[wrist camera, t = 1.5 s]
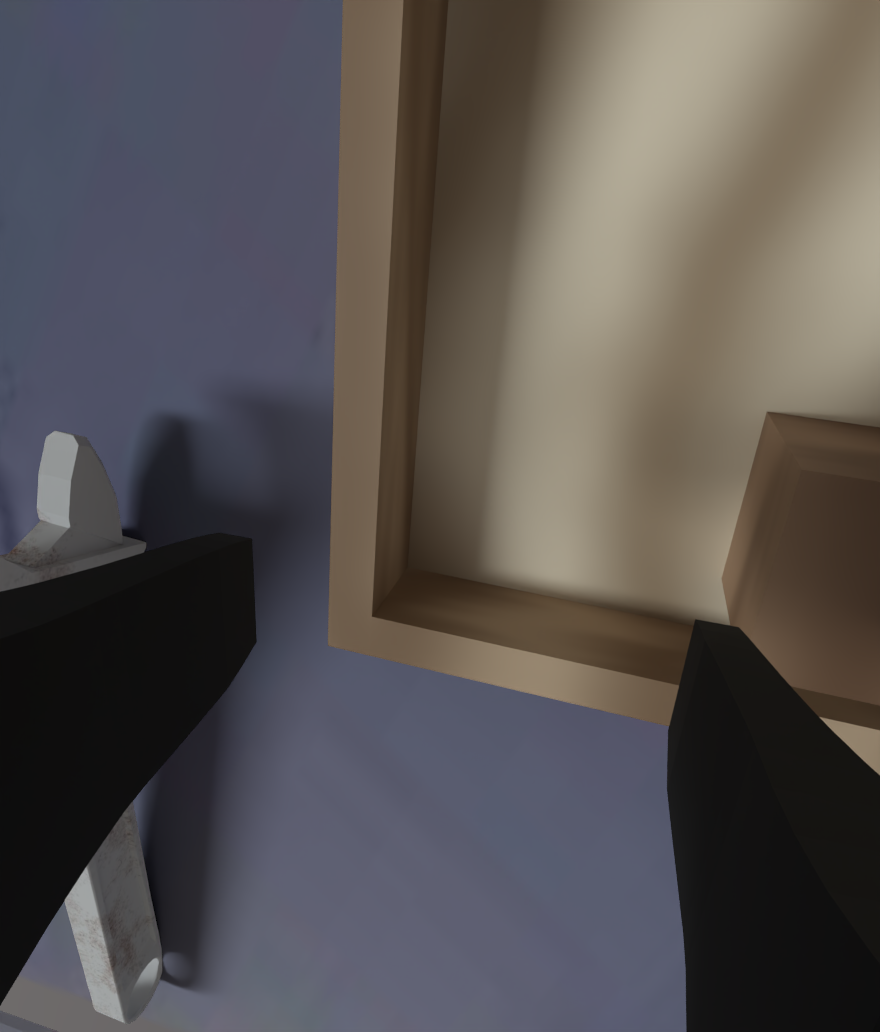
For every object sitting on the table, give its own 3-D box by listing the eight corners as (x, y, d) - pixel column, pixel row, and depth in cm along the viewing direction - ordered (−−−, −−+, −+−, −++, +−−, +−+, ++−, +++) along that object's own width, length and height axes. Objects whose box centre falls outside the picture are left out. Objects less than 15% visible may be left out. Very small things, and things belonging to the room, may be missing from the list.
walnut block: (980, 441, 16) (1089, 514, 12) (910, 614, 18) (985, 728, 14) (766, 411, 17) (801, 469, 13) (721, 578, 19) (739, 675, 15)
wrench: (168, 911, 38) (82, 369, 23) (199, 922, 38) (132, 380, 22) (57, 1082, 31) (-174, 475, 16) (94, 1099, 31) (-107, 493, 15)
